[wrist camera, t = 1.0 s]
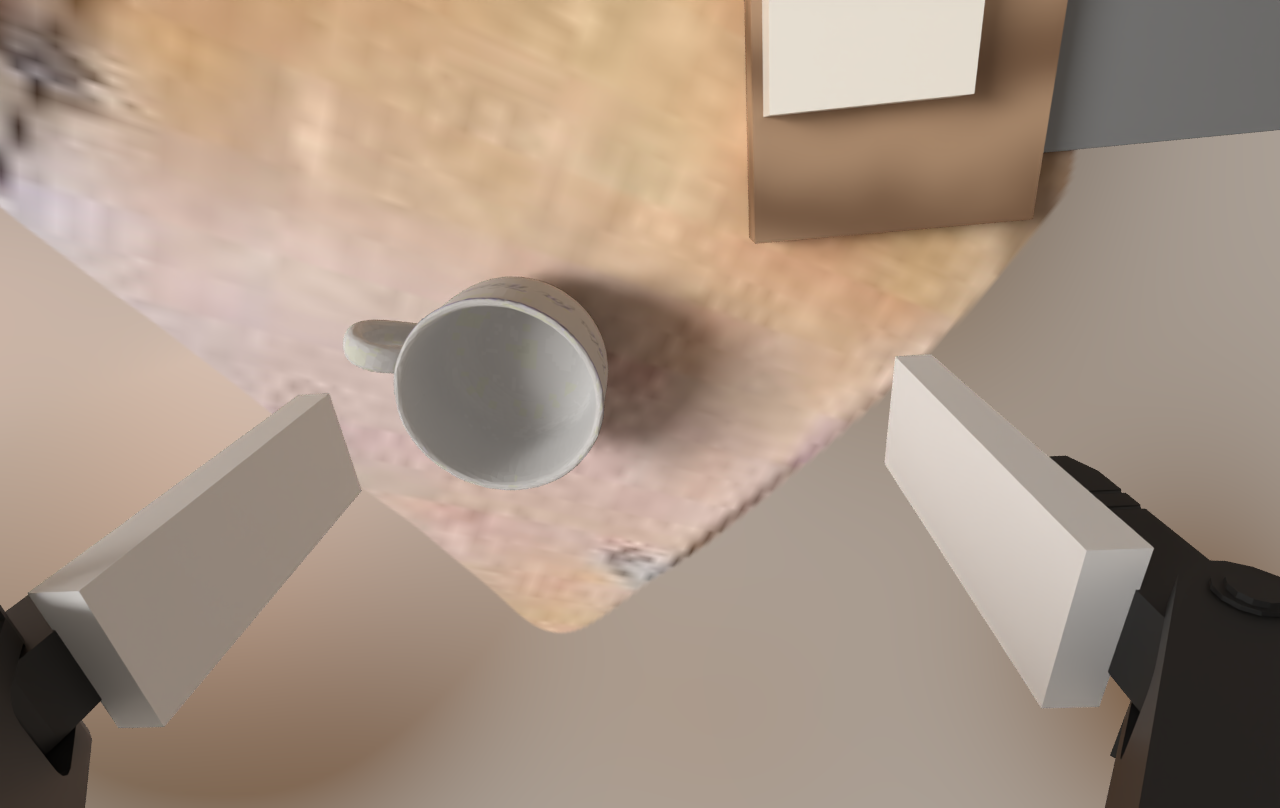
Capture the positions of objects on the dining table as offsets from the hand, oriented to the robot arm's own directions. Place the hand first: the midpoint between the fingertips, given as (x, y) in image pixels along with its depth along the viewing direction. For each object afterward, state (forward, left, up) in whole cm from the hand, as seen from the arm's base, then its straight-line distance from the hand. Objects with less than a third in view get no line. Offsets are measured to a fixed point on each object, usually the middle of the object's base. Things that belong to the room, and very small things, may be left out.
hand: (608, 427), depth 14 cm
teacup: (+4, -9, -23) cm, 25 cm away
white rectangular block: (-10, +11, -20) cm, 25 cm away
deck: (-9, +13, -22) cm, 27 cm away
